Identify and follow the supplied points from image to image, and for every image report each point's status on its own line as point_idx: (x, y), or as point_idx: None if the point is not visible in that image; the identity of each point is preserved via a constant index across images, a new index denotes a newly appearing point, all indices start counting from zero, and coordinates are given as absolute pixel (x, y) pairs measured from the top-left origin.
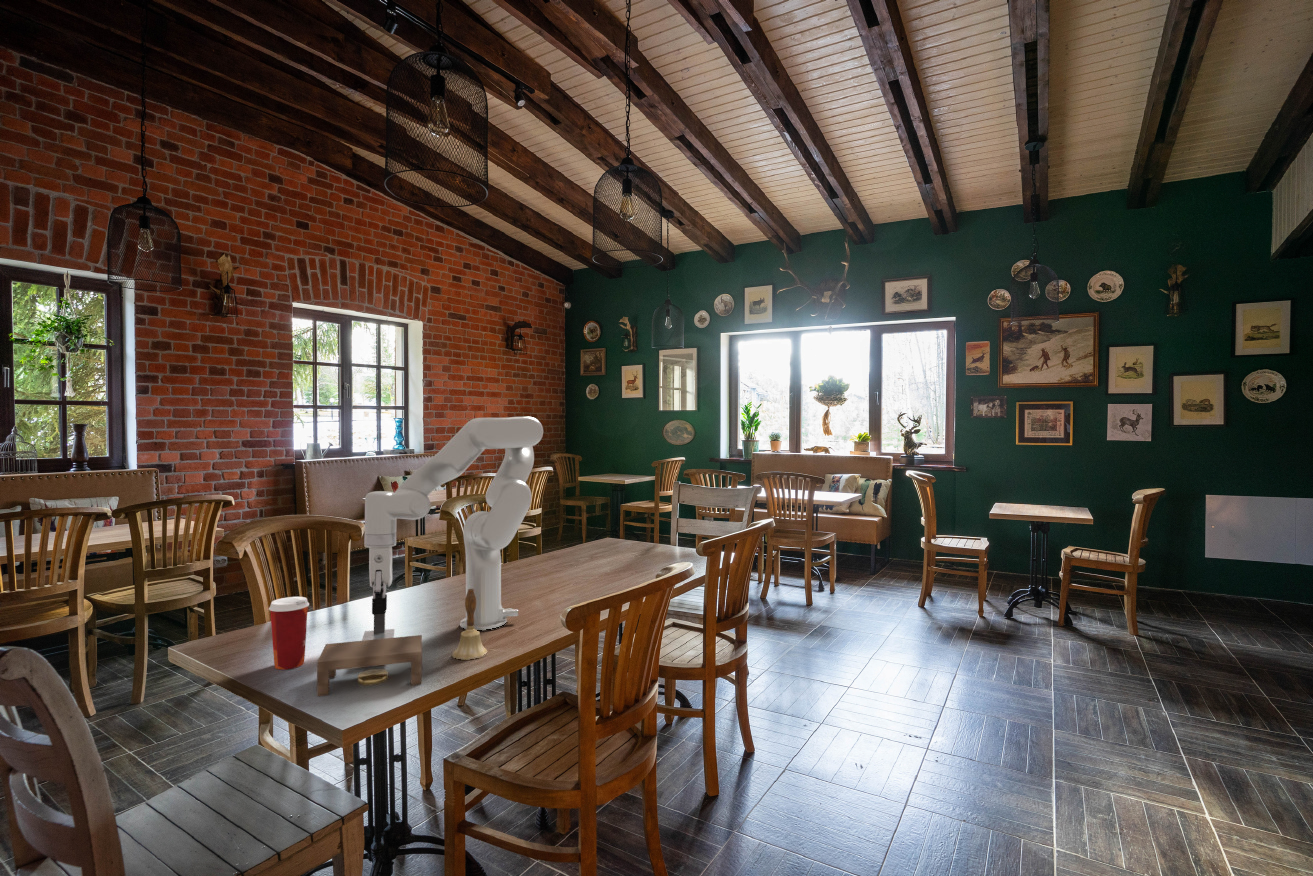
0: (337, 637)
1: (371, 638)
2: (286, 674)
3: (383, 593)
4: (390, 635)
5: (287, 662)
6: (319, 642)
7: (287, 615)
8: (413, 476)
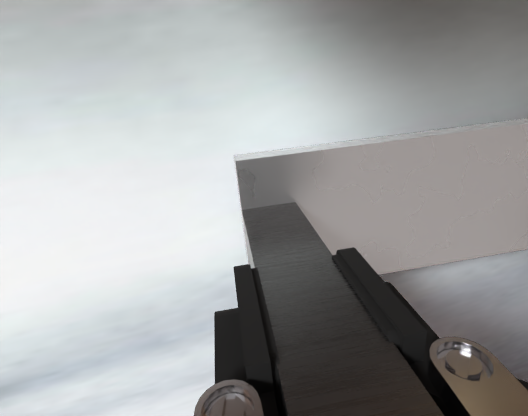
0: (143, 376)
1: (385, 239)
2: None
3: (522, 401)
4: (360, 159)
5: None
6: None
7: None
8: None
